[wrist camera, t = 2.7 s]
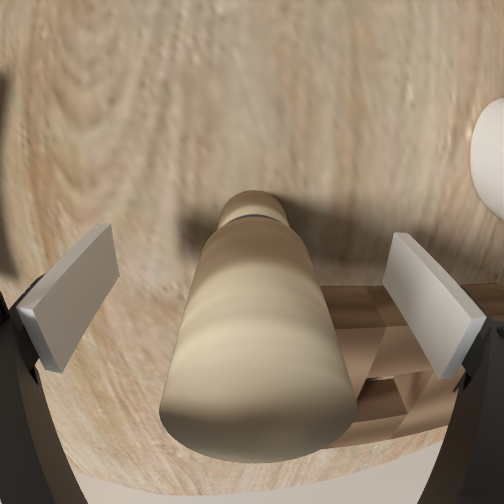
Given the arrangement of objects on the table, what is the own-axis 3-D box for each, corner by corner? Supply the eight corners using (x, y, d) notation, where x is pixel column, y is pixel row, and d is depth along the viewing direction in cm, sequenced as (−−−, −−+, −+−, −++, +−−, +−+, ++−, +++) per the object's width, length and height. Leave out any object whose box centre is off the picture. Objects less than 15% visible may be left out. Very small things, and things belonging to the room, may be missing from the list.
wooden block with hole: (250, 285, 19) (251, 329, 15) (497, 283, 19) (523, 311, 15) (245, 414, 25) (245, 452, 21) (437, 395, 25) (450, 424, 22)
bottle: (212, 182, 16) (140, 356, 5) (297, 185, 16) (383, 358, 5) (213, 257, 18) (175, 458, 7) (290, 259, 18) (331, 459, 7)
